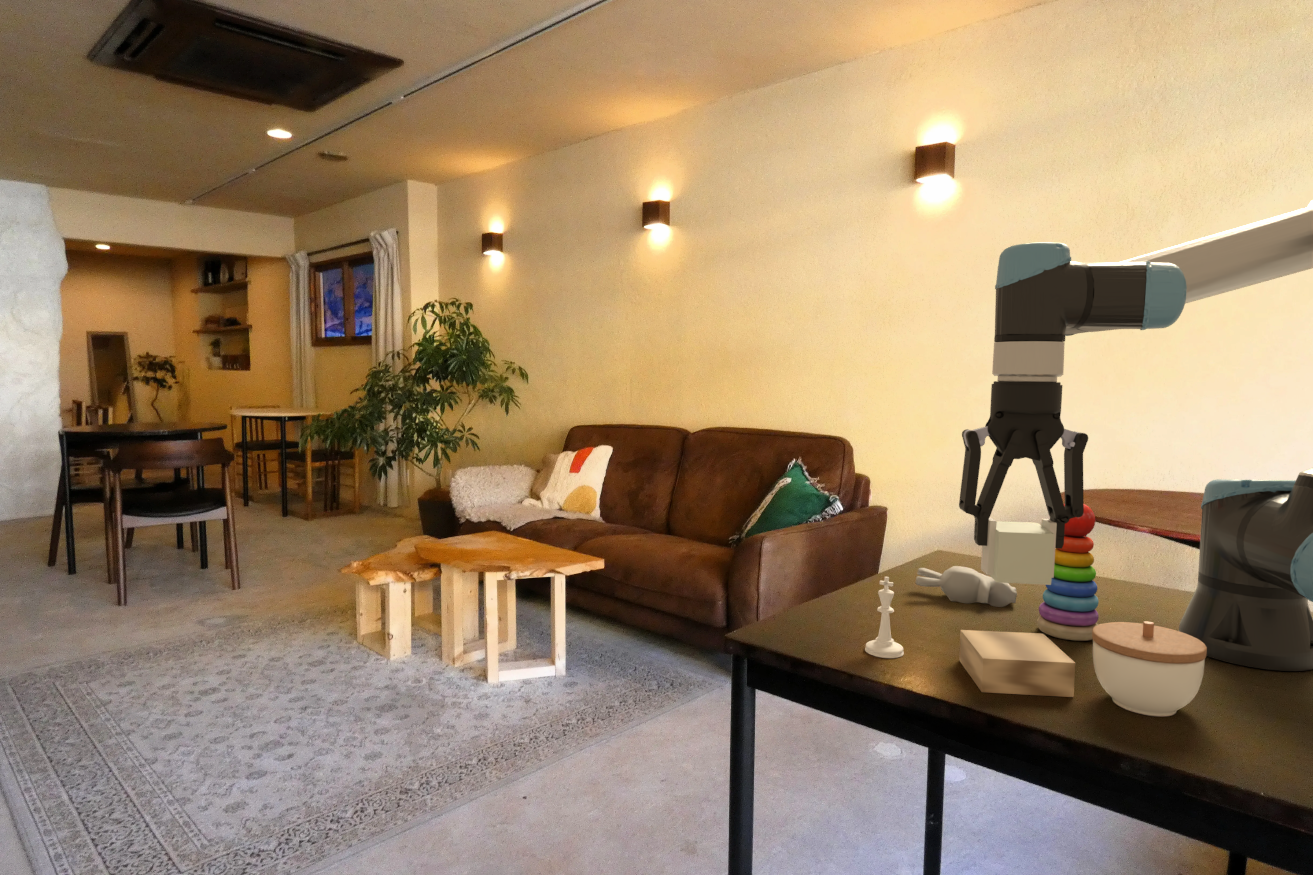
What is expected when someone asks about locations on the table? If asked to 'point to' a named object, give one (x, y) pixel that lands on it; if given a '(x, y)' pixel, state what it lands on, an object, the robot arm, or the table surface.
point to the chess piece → (885, 627)
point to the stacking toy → (1072, 585)
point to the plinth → (1016, 663)
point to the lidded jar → (1148, 666)
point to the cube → (1023, 553)
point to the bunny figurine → (968, 586)
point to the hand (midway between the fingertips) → (1016, 573)
